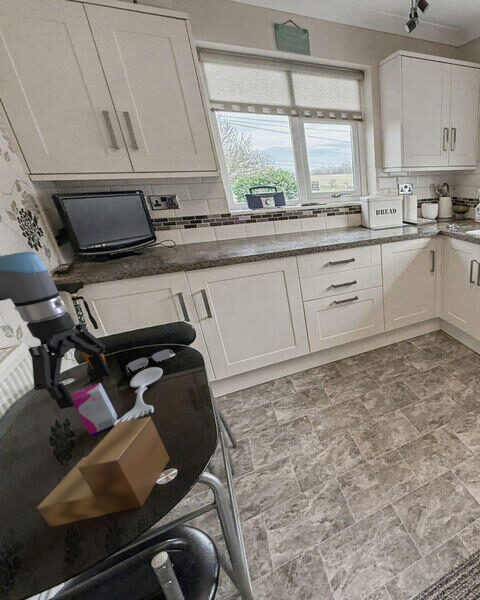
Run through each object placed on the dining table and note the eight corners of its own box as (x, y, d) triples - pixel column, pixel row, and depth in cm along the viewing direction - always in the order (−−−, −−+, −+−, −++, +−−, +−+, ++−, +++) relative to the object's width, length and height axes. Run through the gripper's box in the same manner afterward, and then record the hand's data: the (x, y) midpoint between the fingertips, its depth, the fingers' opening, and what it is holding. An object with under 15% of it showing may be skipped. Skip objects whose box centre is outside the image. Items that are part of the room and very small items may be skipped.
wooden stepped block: (50, 527, 62) (17, 479, 58) (93, 475, 73) (68, 432, 69) (141, 506, 64) (116, 459, 60) (170, 459, 75) (150, 416, 71)
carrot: (93, 380, 114) (74, 342, 109) (95, 374, 118) (76, 337, 113) (111, 374, 117) (93, 337, 111) (112, 369, 121) (95, 332, 115)
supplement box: (118, 415, 93) (101, 381, 89) (117, 425, 89) (100, 390, 85) (91, 425, 90) (72, 391, 86) (90, 436, 86) (70, 401, 82)
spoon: (116, 434, 86) (111, 423, 84) (134, 379, 112) (130, 370, 110) (157, 419, 90) (152, 409, 88) (165, 369, 116) (162, 361, 115)
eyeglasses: (173, 356, 125) (170, 347, 124) (179, 364, 120) (176, 355, 118) (129, 373, 116) (124, 363, 115) (133, 382, 111) (128, 373, 109)
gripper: (18, 336, 67) (67, 419, 75) (99, 297, 90) (130, 363, 98) (-24, 343, 66) (30, 426, 74) (69, 302, 89) (103, 368, 97)
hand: (87, 390), depth 86 cm, fingers open, 13 cm apart
